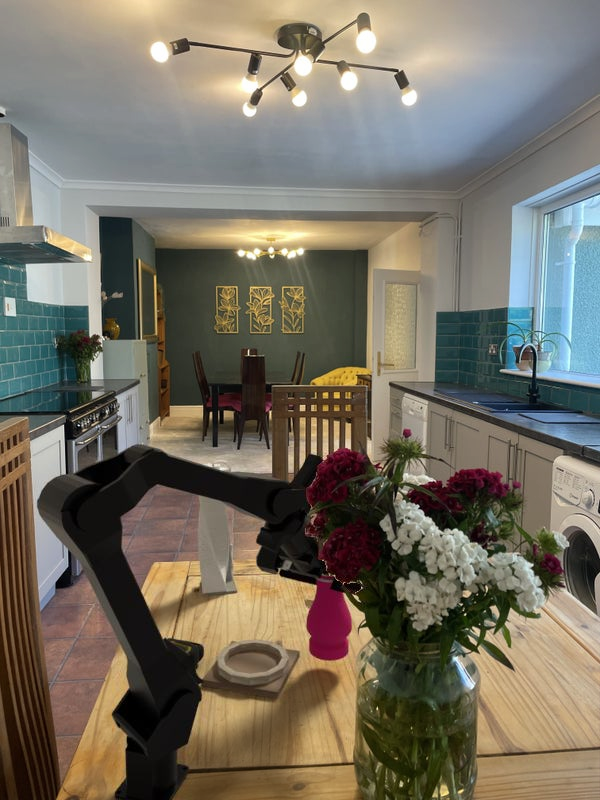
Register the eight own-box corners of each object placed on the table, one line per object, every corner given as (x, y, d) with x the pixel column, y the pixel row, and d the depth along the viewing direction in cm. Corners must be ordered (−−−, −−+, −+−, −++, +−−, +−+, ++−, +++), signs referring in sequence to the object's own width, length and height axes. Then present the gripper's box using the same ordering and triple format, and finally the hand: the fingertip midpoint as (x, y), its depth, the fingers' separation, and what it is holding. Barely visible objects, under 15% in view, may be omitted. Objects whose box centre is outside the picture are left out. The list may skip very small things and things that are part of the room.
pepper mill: (334, 668, 89) (336, 537, 87) (296, 652, 93) (297, 528, 92) (360, 649, 95) (362, 526, 93) (323, 635, 99) (324, 518, 97)
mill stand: (277, 698, 86) (277, 684, 86) (201, 685, 90) (201, 671, 89) (299, 656, 98) (299, 643, 98) (231, 646, 101) (231, 634, 101)
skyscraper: (238, 595, 121) (237, 460, 118) (198, 599, 119) (196, 462, 117) (233, 579, 130) (232, 452, 127) (195, 582, 128) (193, 454, 125)
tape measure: (206, 662, 97) (206, 640, 96) (184, 685, 90) (184, 661, 90) (170, 654, 99) (169, 633, 98) (146, 676, 92) (145, 653, 92)
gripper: (376, 498, 83) (403, 552, 94) (267, 481, 93) (302, 531, 103) (349, 571, 77) (382, 619, 88) (235, 544, 87) (277, 591, 97)
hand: (333, 586), depth 94 cm, fingers closed on pepper mill, 5 cm apart
